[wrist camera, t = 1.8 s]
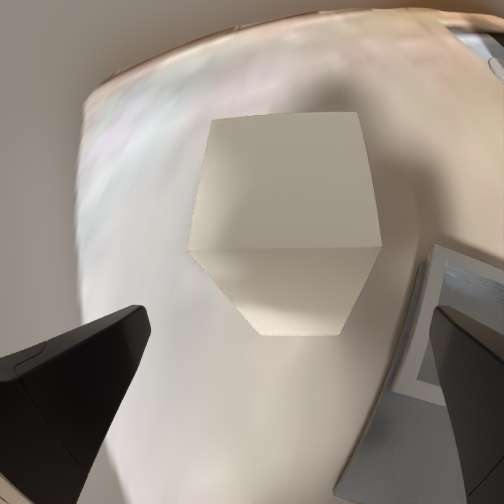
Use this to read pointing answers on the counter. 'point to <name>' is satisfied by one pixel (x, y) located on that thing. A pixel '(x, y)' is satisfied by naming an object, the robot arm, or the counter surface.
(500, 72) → the wireless router
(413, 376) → the bracket plate
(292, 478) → the counter surface
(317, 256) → the cream rectangular prism
